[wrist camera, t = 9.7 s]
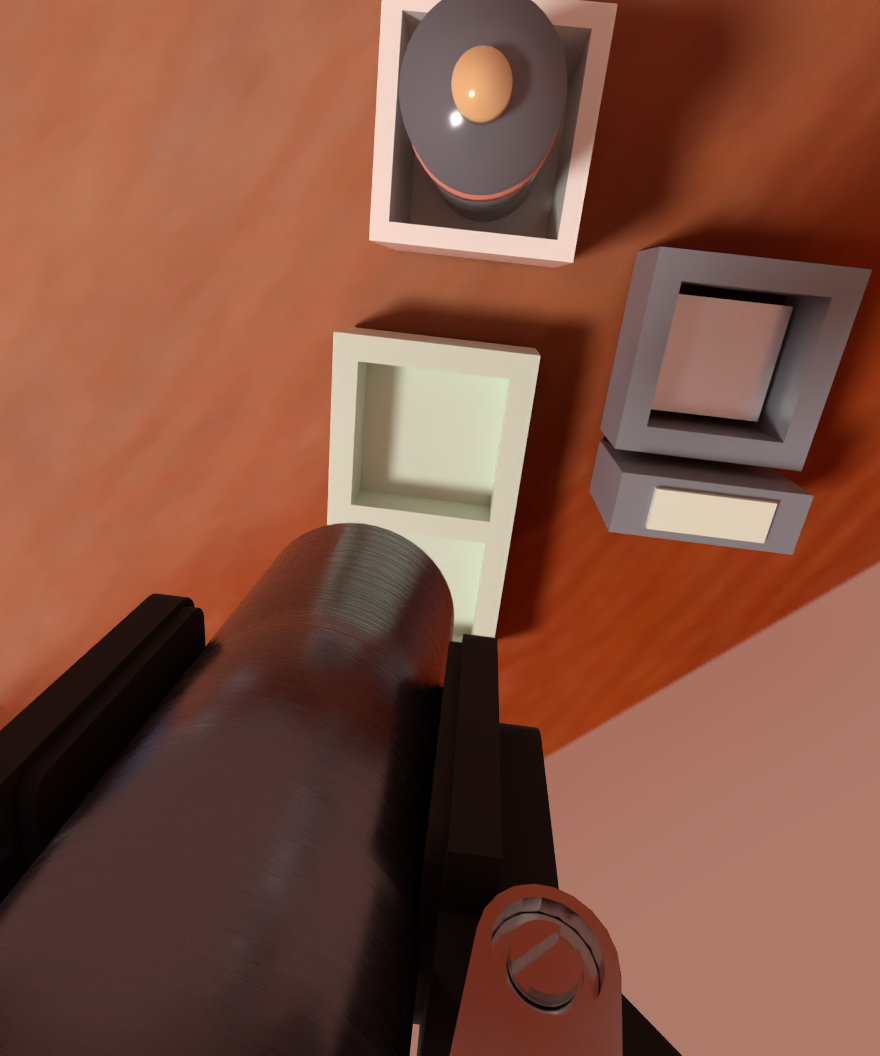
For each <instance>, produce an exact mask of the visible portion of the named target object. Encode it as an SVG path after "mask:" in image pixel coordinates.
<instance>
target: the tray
mask: <svg viewBox="0 0 880 1056" xmlns="http://www.w3.org/2000/svg"><path fill="white" fill-rule="evenodd" d="M540 357H541V356H540V354H539V353H538V351H537V350H536V348H530V347H521V346H512V345H504V344H495V343H486V342H478V341H469V340H460V339H452V338H443V337H435V336H426V335H417V334H409V333H400V332H391V331H383V330H374V329H365V328H357V327H348V328H345V329H341V330H338V331H334V335H333V365H332V395H331V425H330V455H329V485H328V514H327V525H332V524H338V523H362V524H368V525H373V526H378V527H381V528H384V529H387V530H390V531H392V532H395V533H397V534H399V535H401V536H403V537H405V538H406V539H408V540H410V541H411V542H413V543H414V544H415V545H417V546H418V547H419V548H421V549H422V550H423V551H424V552H425V553H426V554H427V555H428V556H429V557H430V558H431V559H432V560H433V561H434V563H435V564H436V565H437V567H438V568H439V569H440V571H441V573H442V574H443V576H444V578H445V580H446V582H447V584H448V587H449V589H450V592H451V596H452V600H453V606H454V627H453V637H452V641H454V642H462V639H463V634H470V635H478V636H486V637H493V638H495V633H496V627H497V621H498V615H499V608H500V602H501V596H502V590H503V584H504V578H505V572H506V565H507V559H508V553H509V547H510V541H511V535H512V529H513V522H514V516H515V510H516V504H517V498H518V492H519V486H520V480H521V473H522V467H523V461H524V455H525V449H526V443H527V437H528V430H529V424H530V418H531V412H532V406H533V400H534V394H535V387H536V381H537V375H538V369H539V363H540Z"/></svg>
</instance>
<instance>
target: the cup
mask: <svg viewBox="0 0 880 1056" xmlns="http://www.w3.org/2000/svg"><path fill="white" fill-rule="evenodd" d="M617 6H618V4H615V3H604V2H594V1H583V0H382V6H381V25H380V44H379V63H378V83H377V102H376V121H375V140H374V159H373V178H372V197H371V216H370V235H369V240H370V241H373V242H375V243H378V244H381V245H383V246H386V247H389V248H391V249H394V250H401V251H410V252H419V253H428V254H437V255H446V256H455V257H464V258H473V259H482V260H491V261H500V262H509V263H518V264H527V265H536V266H545V267H554V268H556V267H560V266H563V265H567V264H570V263H573V260H574V254H575V249H576V243H577V237H578V231H579V225H580V220H581V214H582V208H583V202H584V197H585V191H586V185H587V179H588V173H589V168H590V162H591V156H592V150H593V145H594V139H595V133H596V127H597V121H598V116H599V110H600V104H601V98H602V93H603V87H604V81H605V75H606V69H607V64H608V58H609V52H610V46H611V41H612V35H613V29H614V23H615V17H616V12H617Z"/></svg>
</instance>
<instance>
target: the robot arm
mask: <svg viewBox="0 0 880 1056" xmlns="http://www.w3.org/2000/svg"><path fill="white" fill-rule="evenodd" d="M205 647H206V646H205V627H204V614H203V611H202V610H201V609H200V608H195V607H194V603H193V601H192V600H191V599H190V598H187V597H179V596H172V595H164V594H152V595H150V596H149V597H148V598H147V599H145V600H144V601H143V602H142V603H141V604H140V605H139V606H138V607H137V608H136V609H134V610H133V611H132V612H131V613H130V614H129V615H128V616H127V617H126V618H124V619H123V620H122V621H121V622H120V623H119V624H118V625H117V626H116V627H115V628H113V629H112V630H111V631H110V632H109V633H108V634H107V635H106V636H105V637H103V638H102V639H101V640H100V641H99V642H98V643H97V644H96V645H95V646H93V647H92V648H91V649H90V650H89V651H88V652H87V653H86V654H85V655H84V656H82V657H81V658H80V659H79V660H78V661H77V662H76V663H75V664H74V665H72V666H71V667H70V668H69V669H68V670H67V671H66V672H65V673H64V674H63V675H61V676H60V677H59V678H58V679H57V680H56V681H55V682H54V683H53V684H51V685H50V686H49V687H48V688H47V689H46V690H45V691H44V692H43V693H41V694H40V695H39V696H38V697H37V698H36V699H35V700H34V701H33V702H32V703H30V704H29V705H28V706H27V707H26V708H25V709H24V710H23V711H22V712H20V713H19V714H18V715H17V716H16V717H15V718H14V719H13V720H12V721H11V722H9V723H8V724H7V725H6V726H5V727H4V728H3V729H2V730H1V731H0V904H1V902H2V901H3V900H4V899H5V897H6V896H7V895H8V894H9V892H10V891H11V890H12V889H13V887H14V886H15V885H16V884H17V882H18V881H19V880H20V879H21V877H22V876H23V875H24V874H25V872H26V871H27V870H28V869H29V867H30V866H31V865H32V864H33V862H34V861H35V860H36V859H37V857H38V856H39V855H40V854H41V852H42V851H43V850H44V849H45V847H46V846H47V845H48V844H49V842H50V841H51V840H52V839H53V837H54V836H55V835H56V834H57V832H58V831H59V830H60V829H61V827H62V826H63V825H64V824H65V822H66V821H67V820H68V819H69V817H70V816H71V815H72V814H73V812H74V811H75V810H76V809H77V807H78V806H79V805H80V804H81V802H82V801H83V800H84V798H85V797H86V796H87V795H88V793H89V792H90V791H91V790H92V788H93V787H94V786H95V785H96V783H97V782H98V781H99V780H100V778H101V777H102V776H103V775H104V773H105V772H106V771H107V770H108V768H109V767H110V766H111V765H112V763H113V762H114V761H115V760H116V758H117V757H118V756H119V755H120V753H121V752H122V751H123V750H124V748H125V747H126V746H127V745H128V743H129V742H130V741H131V740H132V738H133V737H134V736H135V735H136V733H137V732H138V731H139V730H140V728H141V727H142V726H143V725H144V723H145V722H146V721H147V720H148V718H149V717H150V716H151V715H152V713H153V712H154V711H155V710H156V708H157V707H158V706H159V705H160V703H161V702H162V701H163V700H164V698H165V697H166V696H167V695H168V693H169V692H170V691H171V690H172V688H173V687H174V686H175V684H176V683H177V682H178V681H179V679H180V678H181V677H182V676H183V674H184V673H185V672H186V671H187V669H188V668H189V667H190V666H191V664H192V663H193V662H194V661H195V659H196V658H197V657H198V656H199V654H200V653H201V652H202V651H203V649H204V648H205ZM417 918H418V923H419V930H420V936H421V940H420V958H419V968H418V978H417V988H416V997H415V1007H414V1017H413V1024H419V1025H420V1027H419V1038H418V1049H417V1056H682V1055H681V1054H680V1053H679V1052H678V1051H677V1050H676V1049H675V1048H674V1047H673V1046H672V1045H671V1044H670V1043H669V1042H668V1041H667V1040H666V1039H665V1038H664V1037H663V1036H662V1035H661V1034H660V1032H659V1031H658V1030H656V1028H655V1027H654V1026H653V1025H652V1024H651V1023H650V1022H649V1021H648V1020H647V1019H646V1018H645V1017H644V1016H643V1015H642V1014H641V1013H640V1012H639V1011H638V1010H637V1009H636V1008H635V1007H634V1006H633V1005H632V1004H631V1003H630V1002H629V1001H628V1000H627V999H626V998H625V996H624V995H623V994H622V992H621V972H620V966H619V960H618V954H617V951H616V948H615V946H614V944H613V942H612V940H611V938H610V935H609V933H608V931H607V929H606V928H605V927H604V925H603V924H602V923H601V922H600V920H599V919H598V918H597V917H596V915H595V914H594V913H593V912H592V911H591V910H590V909H589V908H588V907H586V906H585V905H584V904H582V903H581V902H580V901H579V900H577V899H576V898H575V897H574V896H572V895H569V894H567V893H565V892H563V891H561V890H559V887H558V878H557V870H556V861H555V854H554V844H553V836H552V827H551V818H550V810H549V802H548V793H547V784H546V776H545V767H544V758H543V750H542V741H541V735H540V731H539V729H538V728H534V727H526V726H519V725H512V724H504V723H499V693H498V651H497V638H493V637H486V636H478V635H470V634H463V639H462V642H454V641H449V646H448V654H447V662H446V669H445V677H444V685H443V693H442V702H441V711H440V720H439V728H438V737H437V746H436V754H435V763H434V772H433V781H432V789H431V798H430V807H429V816H428V824H427V833H426V842H425V850H424V859H423V868H422V877H421V885H420V894H419V903H418V911H417Z"/></svg>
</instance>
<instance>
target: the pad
mask: <svg viewBox="0 0 880 1056" xmlns="http://www.w3.org/2000/svg"><path fill="white" fill-rule="evenodd" d="M792 309H793V307H791V306H782V305H773V304H764V303H755V302H746V301H737V300H728V299H719V298H710V297H701V296H692V295H683V294H678V299H677V303H676V307H675V311H674V315H673V319H672V324H671V328H670V332H669V336H668V340H667V344H666V349H665V353H664V357H663V361H662V365H661V369H660V374H659V378H658V382H657V386H656V390H655V395H654V399H653V403H652V407H651V409H654V410H662V411H670V412H679V413H687V414H696V415H704V416H713V417H721V418H730V419H738V420H747V421H755V422H758V419H759V415H760V412H761V409H762V406H763V402H764V399H765V396H766V393H767V390H768V386H769V383H770V380H771V377H772V373H773V370H774V367H775V364H776V361H777V357H778V354H779V351H780V348H781V345H782V341H783V338H784V335H785V332H786V328H787V325H788V322H789V319H790V316H791V312H792Z"/></svg>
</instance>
